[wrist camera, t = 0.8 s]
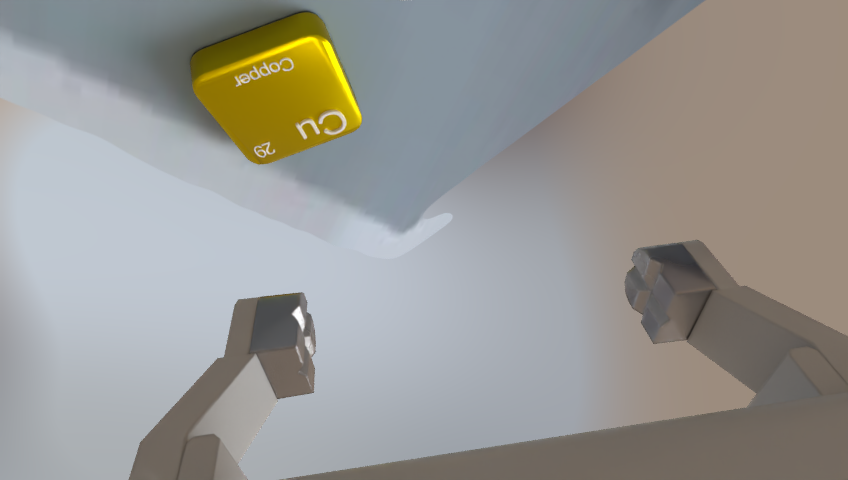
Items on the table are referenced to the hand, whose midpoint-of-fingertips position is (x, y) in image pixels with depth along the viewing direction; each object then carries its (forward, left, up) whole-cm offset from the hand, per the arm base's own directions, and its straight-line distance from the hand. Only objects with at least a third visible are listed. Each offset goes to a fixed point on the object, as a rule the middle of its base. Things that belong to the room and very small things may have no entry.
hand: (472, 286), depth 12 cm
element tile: (+16, -25, -44) cm, 53 cm away
